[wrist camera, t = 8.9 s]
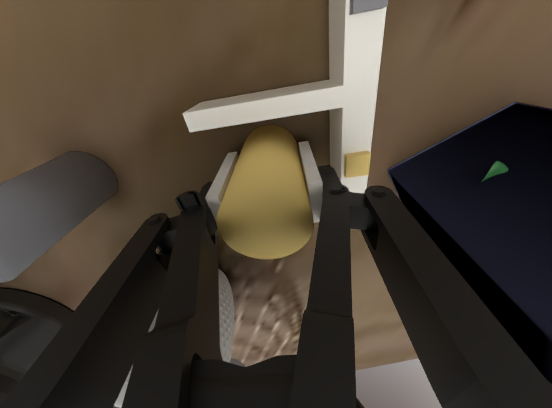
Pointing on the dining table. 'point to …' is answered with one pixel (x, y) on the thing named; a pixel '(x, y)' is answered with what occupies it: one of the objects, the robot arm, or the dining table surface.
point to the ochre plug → (266, 198)
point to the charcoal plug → (48, 206)
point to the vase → (494, 216)
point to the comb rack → (323, 92)
